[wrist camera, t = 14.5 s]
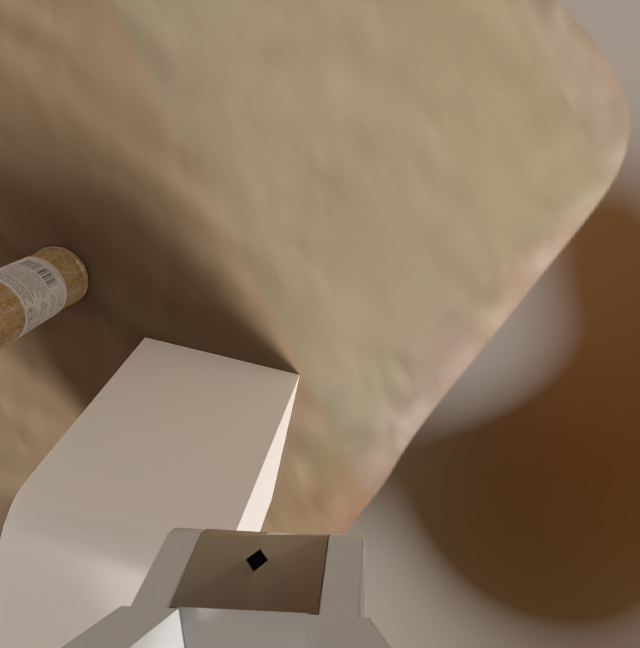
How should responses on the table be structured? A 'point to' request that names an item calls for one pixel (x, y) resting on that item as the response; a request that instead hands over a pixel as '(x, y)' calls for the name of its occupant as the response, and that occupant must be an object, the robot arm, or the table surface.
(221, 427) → the milk
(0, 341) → the sprinkles bottle
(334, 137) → the table surface
